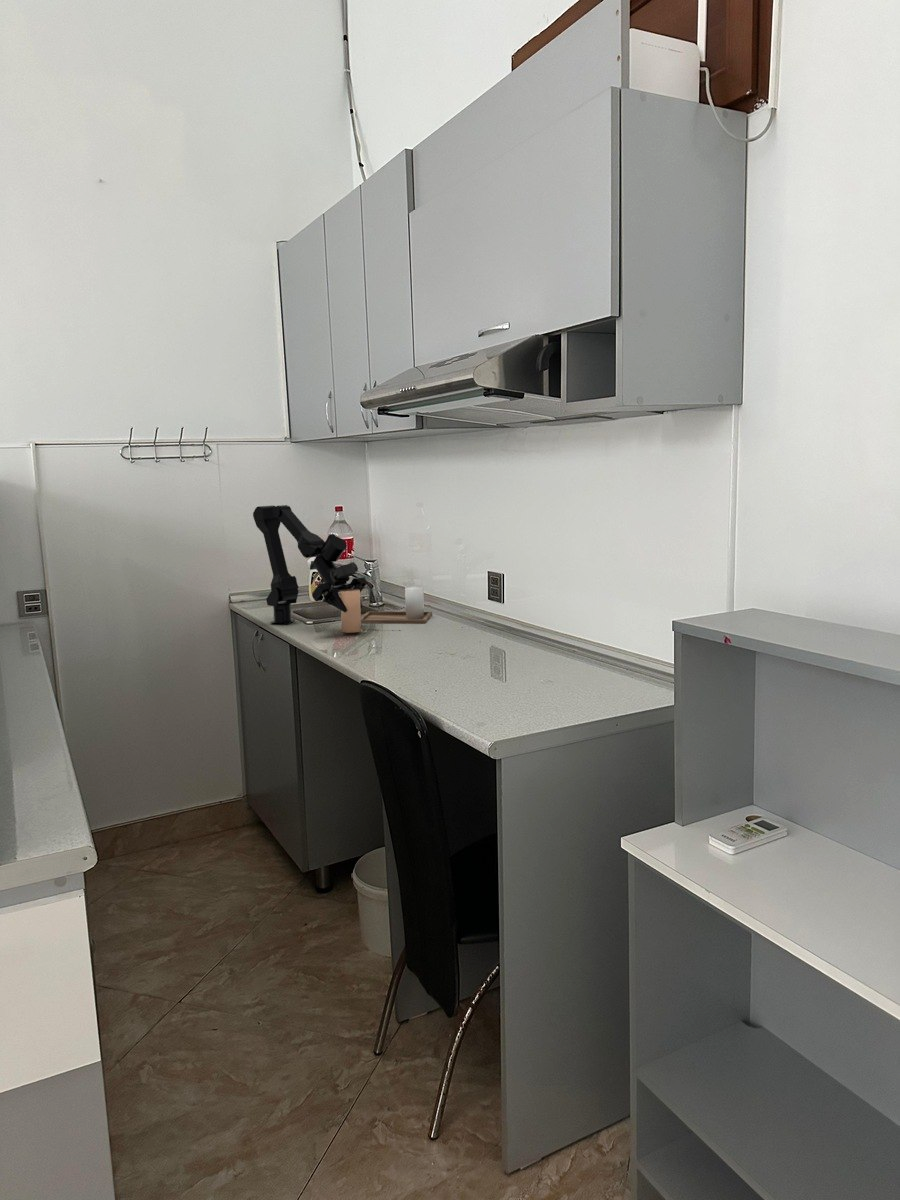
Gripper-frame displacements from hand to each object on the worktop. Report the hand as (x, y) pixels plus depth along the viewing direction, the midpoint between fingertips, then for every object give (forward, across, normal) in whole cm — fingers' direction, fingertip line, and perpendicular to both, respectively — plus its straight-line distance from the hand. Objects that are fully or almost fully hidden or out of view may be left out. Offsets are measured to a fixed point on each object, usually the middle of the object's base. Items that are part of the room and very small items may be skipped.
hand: (353, 609), depth 266 cm
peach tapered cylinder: (+4, 0, +6) cm, 7 cm away
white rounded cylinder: (+4, +28, +5) cm, 29 cm away
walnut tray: (+2, +22, +8) cm, 24 cm away
